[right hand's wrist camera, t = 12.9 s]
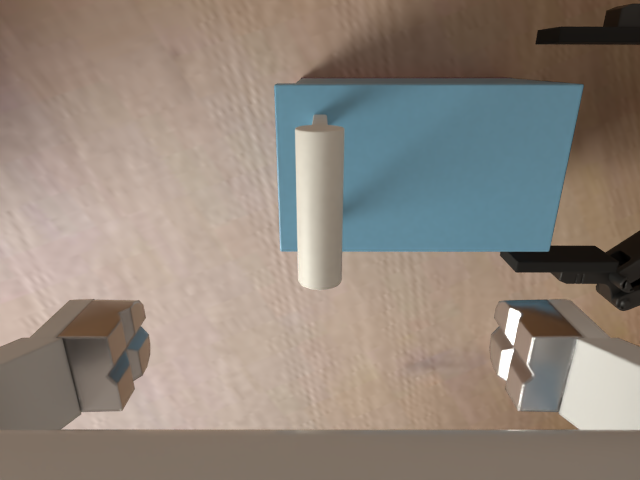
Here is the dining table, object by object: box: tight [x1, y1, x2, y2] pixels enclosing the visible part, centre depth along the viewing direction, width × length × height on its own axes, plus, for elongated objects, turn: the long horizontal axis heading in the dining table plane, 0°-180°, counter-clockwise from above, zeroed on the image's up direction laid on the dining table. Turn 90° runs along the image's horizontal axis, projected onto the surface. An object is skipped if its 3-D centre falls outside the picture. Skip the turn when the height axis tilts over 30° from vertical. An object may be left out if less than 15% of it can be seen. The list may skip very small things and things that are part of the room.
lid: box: [274, 83, 584, 290], centre depth 21 cm, size 16×9×8 cm, turn 90°
